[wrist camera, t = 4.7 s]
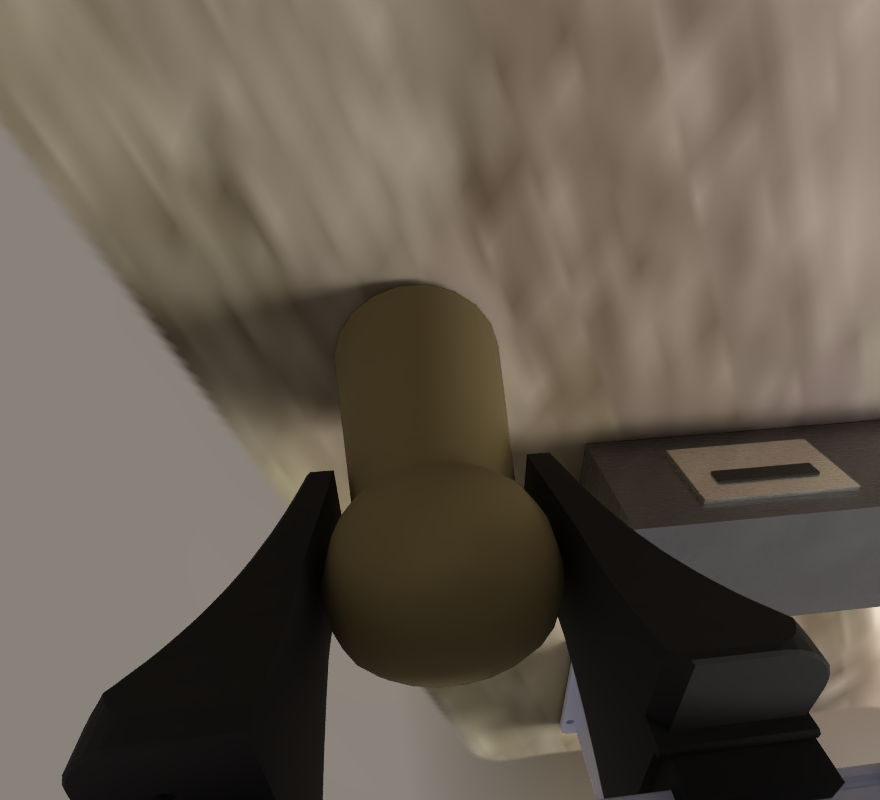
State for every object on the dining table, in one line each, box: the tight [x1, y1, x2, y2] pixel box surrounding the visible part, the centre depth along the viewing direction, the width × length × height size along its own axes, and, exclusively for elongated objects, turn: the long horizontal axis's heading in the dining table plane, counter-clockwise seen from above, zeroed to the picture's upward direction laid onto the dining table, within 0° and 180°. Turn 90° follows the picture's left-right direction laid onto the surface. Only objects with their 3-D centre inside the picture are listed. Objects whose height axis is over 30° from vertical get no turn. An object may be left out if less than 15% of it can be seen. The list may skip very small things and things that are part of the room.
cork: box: [322, 285, 565, 687], centre depth 14 cm, size 6×6×11 cm
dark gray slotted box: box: [580, 420, 880, 616], centre depth 22 cm, size 6×22×5 cm, turn 92°
